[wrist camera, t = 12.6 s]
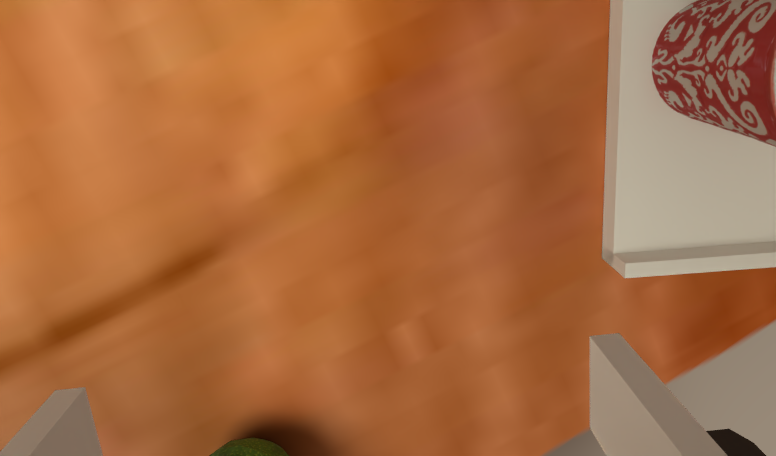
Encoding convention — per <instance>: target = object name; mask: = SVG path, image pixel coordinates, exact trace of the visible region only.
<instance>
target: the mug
mask: <svg viewBox="0 0 776 456" xmlns="http://www.w3.org/2000/svg"><path fill="white" fill-rule="evenodd" d="M652 76H653V80H654V84H655V86H656V89H657V91H658V92H659V95H660V97H661V98H662V99H663V100H664V102H665V103H666V104H667V105H668V106H669V107H671V108H672V109H673V110H675V111H676V112H678V113H680V114H682V115H684V116H686V117H689V118H691V119H695V120H698V121H701V122H704V123H708V124H711V125H714V126H717V127H719V128H722V129H725V130H729V131H732V132H735V133H738V134H741V135H744V136H747V137H750V138H753V139H756V140H758V141H760V142H763V143H766V144H769V145H772V146H775V147H776V0H698V1H696V2H693V3H691V4H689V5H688V6H686V7H685V8H683V9H681V10H680V11H679V12H678V13H676V14H675V15H674V16H673V17H672V18H671V19H670V20H669V21H668V23H667V24H666V25H665V27H664V28H663V30H662V31H661V33H660V35H659V37H658V39H657V41H656V45H655V47H654V50H653V55H652Z"/></svg>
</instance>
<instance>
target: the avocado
mask: <svg viewBox="0 0 776 456" xmlns="http://www.w3.org/2000/svg"><path fill="white" fill-rule="evenodd" d="M210 456H289V455H288V454H287V453H286V452H285V450H283V449H282V448H281V447H280V446H279V445H277V444H275V443H273V442H271V441H267V440H264V439H258V438H253V437H252V438H246V439H239V440H233V441H230V442H228V443H227V444H225V445H224V446H222V447H221V448H219V449H218V450H216V451H215V452H214V453H212V454H211V455H210Z"/></svg>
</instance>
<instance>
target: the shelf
mask: <svg viewBox="0 0 776 456" xmlns="http://www.w3.org/2000/svg"><path fill="white" fill-rule="evenodd" d="M696 1H698V0H610V27H609V57H608V88H607V119H606V149H605V180H604V211H603V241H602V258H603V259H604V260H605V261H606V262H607V263H608V264H609V265H610V266H612V267H613V268H614V269H615V270H616V271H617V272H618V273H619V274H621V275H622V276H623V277H624V278H635V277H648V276H662V275H675V274H688V273H702V272H715V271H728V270H742V269H755V268H768V267H776V147H775V146H772V145H769V144H766V143H763V142H760V141H758V140H756V139H753V138H750V137H747V136H744V135H741V134H738V133H735V132H732V131H729V130H725V129H722V128H719V127H717V126H714V125H711V124H708V123H704V122H701V121H698V120H695V119H691V118H689V117H686V116H684V115H682V114H680V113H678V112H676V111H675V110H673V109H672V108H671V107H669V106H668V105H667V104H666V103H665V102H664V100H663V99H662V98H661V97H660V95H659V92H658V91H657V89H656V86H655V84H654V80H653V76H652V55H653V50H654V47H655V45H656V41H657V39H658V37H659V35H660V33H661V31H662V30H663V28H664V27H665V25H666V24H667V23H668V21H669V20H670V19H671V18H672V17H673V16H674V15H675V14H676V13H678V12H679V11H680V10H681V9H683V8H685V7H686V6H688V5H689V4H691V3H693V2H696Z"/></svg>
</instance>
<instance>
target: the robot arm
mask: <svg viewBox="0 0 776 456" xmlns="http://www.w3.org/2000/svg"><path fill="white" fill-rule="evenodd" d="M590 429H591V431H592V432H593V434H594V436H595V437H596V439H597V441H598V442H599V444H600V446H601V447H602V449H603V451H604V453H605V454H606V456H766V455H765V454H764V453H763V452H762V451H761V450H760V449H759V448H758V447H757V446H756V445H755V444H754V443H753V442H751V441H749V440H748V439H746V438H744V437H742V436H741V435H739V434H737V433H735V432H734V431H732V430H730V429H724V430H714V431H705V430H704V428H703V427H702V426H701V425H700V424H699V423H698V422H697V421H696V419H695V418H694V417H693V416H692V415H691V414H690V413H689V412H688V410H686V408H685V407H684V406H683V405H682V404H681V403H680V402H679V400H678V399H677V398H676V397H675V396H674V395H673V394H672V392H671V391H670V390H669V389H668V388H667V387H666V386H665V384H664V383H663V382H662V381H661V380H660V379H659V378H658V377H657V375H656V374H655V373H654V372H653V371H652V370H651V369H650V368H649V366H648V365H647V364H646V363H645V362H644V361H643V360H642V359H641V357H640V356H639V355H638V354H637V353H636V352H635V351H634V350H633V348H632V347H631V346H630V345H629V344H628V343H627V342H626V341H625V339H624V338H623V337H622V336H621V335H620V334H619V333H616V334H606V335H596V336H590ZM0 456H103V454H102V451H101V447H100V443H99V439H98V435H97V431H96V428H95V424H94V420H93V416H92V412H91V408H90V405H89V401H88V397H87V393H86V389H85V387H84V388H74V389H64V390H55V391H54V392H53V394H52V395H51V396H50V397H49V398H48V399H47V400H46V401H45V402H44V404H43V405H42V406H41V407H40V408H39V409H38V410H37V411H36V412H35V414H34V415H33V416H32V417H31V418H30V419H29V420H28V421H27V423H26V424H25V425H24V426H23V427H22V428H21V429H20V430H19V431H18V433H17V434H16V435H15V436H14V437H13V438H12V439H11V440H10V441H9V443H8V444H7V445H6V446H5V447H4V448H3V449H2V450H1V451H0Z"/></svg>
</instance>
